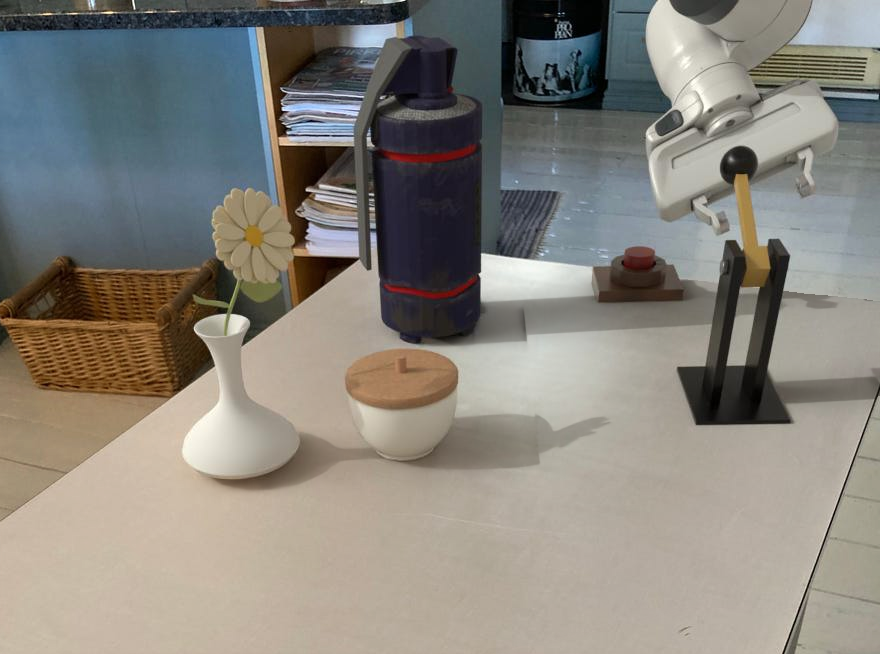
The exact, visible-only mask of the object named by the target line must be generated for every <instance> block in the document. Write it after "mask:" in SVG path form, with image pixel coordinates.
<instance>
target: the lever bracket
mask: <svg viewBox="0 0 880 654" xmlns="http://www.w3.org/2000/svg"><path fill="white" fill-rule="evenodd" d="M766 246H767V248H768V255H769V261H770V267H771V269H770V272H769V275H768V277H767V280H766V283H765V285H764V287H758V295H757V298H756V299H757V300H756V305H755V310H754V315H753V321H752V327H751V331H750V337H749V341H748V348H747V353H746V359H745V363H744V365H742V364H741V365H728V359H729V353H730V347H731V342H732V336H733V331H734V324H735V319H736V313H737V307H738V303H739V295H740V289H741V286H740V285H741V279H742V274H743V268H744V262H745V255H744V254H743V252H742V250H743V249H742V248H741V246H740V245H739V243H738V241H737V240H736V239H726V240H724V245H723V251H722V252H723V253H722V259H721V260H720V263H719V278H718V284H717V290H716V296H715V303H714V310H713V314H712V315H713V316H712V322H711V329H710V335H709V341H708V345H707V346H708V347H707V352H706V353H707V354H706V360H705V365H700V366H699V365H694V366H689V365H687V366H677V367H676V372H677V375H678V378H679V382H680V384H681V387H682V390H683V392H684V393H683V394H684V395H685V398H686V401H687V405H688V407H689V410H690V413H691V416H692V419H693V421H694V425H695V426H732V425H733V426H735V425H737V426H738V425H740V426H741V425H790V424H791V418H790V416H789V415H788V413H787V410H786V408H785V407H784V404H783V401H782V400H781V398H780V396H779V394H778V392H777V389H776V388H775V386H774V383H773V382H772V380H771V378H770V376H769V374H768V368H769V364H770V359H771V354H772V349H773V343H774V339H775V334H776V329H777V324H778V320H779V319H778V318H779V314H780V309H781V305H782V299H783V294H784V290H785V285H786V279H787V274H788V271H789V267H790V265H789V264H790V259H791V254H790V253H789V251H788V250H787V248H786V246H785V245H784V244H783V242H782V240H781V239H780V238H768V241H767V245H766Z"/></svg>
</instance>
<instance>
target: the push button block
mask: <svg viewBox="0 0 880 654" xmlns="http://www.w3.org/2000/svg"><path fill="white" fill-rule="evenodd" d="M623 264H624V254H621V255H617V256H615V257H614V258H613V259H612V260H611V261H610V265H600V266H599V265H598V266H597V265H596V266H595V265H594V266H592V274H591V275H592V276H591V287H592V291H593V295H594V299H595V301H597V303H598V304H601V303H603V304H604V303H644V302H645V303H646V302H648V303H650V302H682V301H683V298H684V291H685V289H684V286H683V284H682V282H681V279H680V277H679V275H678V272H677V270H676V267H675V264H671V263H670V264H667V262H666V260H665V259H664V258H662V257H660V256H658V255H656V254H655V258H654V267H653V268H649V269H640V270H636V269H630V268H627V267H625V266H623Z"/></svg>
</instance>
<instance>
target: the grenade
mask: <svg viewBox="0 0 880 654" xmlns="http://www.w3.org/2000/svg"><path fill="white" fill-rule="evenodd" d="M382 45H383V46H382V48H381V51H380V53H379V56H378V57H377V59H376V60H375V62H374V65H373V71H372V74H371V76H370V79H369V81H368V84H367V87H366V89H365V93H364V95H363V99H362V101H361V104H360V108H359V110H358V113H357V116H356V119H355V123H354V124H353V148H354V173H355V192H356V194H355V195H356V215H357V217H356V218H357V236H358V237H357V238H358V240H357V241H358V258H359V261H360V263H361V265H362V266H363V267H364V269H365V270H366V271H372V269H373V268H372V264H373V263H372V242H371V241H372V240H371V212H370V211H371V210H370V187H369V185H370V184H369V162H368V161H369V158H368V134H369V135H370V143H371V144H372V146H373V147H372V148H371V151H370V153H371V169H372V185H373V187H372V188H373V203H374V205H373V206H374V223H375V238H376V253H377V255H376V257H377V273H378V275H377V276H378V278H379V282H378V283H379V300H380V303H379V304H380V317H381V321H382V323H383V324H384V325H385V326H386V327H388V329H391V330H392V331H395V332H397V333H399V339H400V340H401V341H403V342H406V343H408V344H409V343H410V344H414V345H417V344H419V343H422V341H423V338H440V337H441V338H442V337H447V336H453V335H456V334H459V333H461V336H464V337H465V336H466V337H467V336H469V335H470V334H472V332H473V331H474V330H475V328H476V323H478V322H479V320H480V318H481V308H482V307H481V305H482V302H481V301H482V300H481V299H482V297H481V292H482V278H481V275H480V274H481V273H482V222H483V221H482V217H483V216H482V214H483V213H482V212H483V211H482V209H483V208H482V206H483V205H482V204H483V201H482V200H483V197H482V196H483V145H482V143H481V142H480V141H481V140H482V139H483V103H482V102H481V101H480V100H479V99H477V98H476V97H473V96H470V95H466V94H461V93H455V92H454V86H452V84H453V79H454V74H455V73H454V72H455V67H456V62H457V56H458V52H459V51H458V50H459V49H458V48H456V46H454V45H452V44H451V43H449V42H448V41H446V40H444V39H442V38H440V37H439V36H438V37H437V36H436V37H427V36H424V35H418V34H417V35H409V36H406V37H401V38H399V37H397V36H393V37H389V38H386V39H385V40H384V43H383V44H382ZM382 96H383V97H384V96H388V97H386V98H383V99H381V97H382ZM389 96H390V97H389Z"/></svg>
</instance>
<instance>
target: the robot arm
mask: <svg viewBox="0 0 880 654" xmlns="http://www.w3.org/2000/svg"><path fill="white" fill-rule="evenodd" d="M813 1H814V0H657V1H656V2H655V4H654V5H653V7H652V8H651V10H650V12H649V14H648V16H647V21H646V25H645V46H646V50H647V54H648V58H649V61H650V64H651V67H652V70H653V72H654V75H655V78H656V80H657V82H658V85H659V87H660V89H661V91H662V93H663V94H664V95H665V96H666V97H667V98H668V99H669V100H670V102H671V103H670V104H671V108H670V109H668V111H666V113H665V114H663V115H662V116H661V117H660V118H658V119H657V120H656V121H655V122H654V123H652V125H650V126H649V127H648V128H647V130H646V131H645V153H646V158H647V161H648V174H649V181H650V187H651V192H652V193H651V194H652V198H653V202H654V205H655V209H656V212H657V214H658V217H659V219H660V220H661V221H664V222H667V223H673V222H676V221H678V220H679V219H682V218H684V217H687V216H688V215H691V214H694V216H695V218H696V220H698V221H700V222H702V223H704V224H706V225H707V226H710V227H711V228H712V230H713V232H714V235H715V236H716V237H719V236H722V235H724V234H726V233H729V232H730V222H729V219H728V217H727V216H726V212H725V211H724V210H722V211H720V212H718V213H717V212H715V211H713V210H712V209H711V208H709V206H711V205H713V204H715V203H717V202H720V201H722V200H724V199H727V198H728V197H731V196H733V195H736V193H735V186H734V185H730V184H728V183H726V182H725V181H724V180H723V178H722V176H721V174H720V162H721V160H722V158H723V156H724V154H725V153H726V152H727V151H728V150H730V149H731V148H733V147H736V146H747V147H749V148H751V149H752V150H753V151H754V152H755V154H756V155H757V159H758V168H757V171H756V173H755V175H754V176H753V178H752V179H751V180H750V181H748V182H749V188H750V187H753V186H755V185H757V184H759V183H762V182H763V181H766V180H769V179H770V178H773V177H775V176H777V175H779V174H782V173H784V172H786V171H788V170H791V169H793V168H795V167H797V169H798V171H799V172H803V174H802V175H800V176H798V177H795V186H794V187H795V188H794V189H795V190H796V193H798V194H799V195H798V196H799V198H800V199H801V200H802V199H805V198H808V197H809V196H812V195H814V194H815V193H816V183H815V181H814V178H813V177H812V170H813V162H814V159H815V158H818V157H819V156H822V155H823V154H825V153H828V152H830V151H832V150H833V149H834V147H835V146H836V143H837V140H838V136H839V128H840V127H839V125H840V124H839V120H838V118H837V116H836V114H835V113H834V112H833V109H831V107H830V105H829V104H828V103H827V101H826V100H825V97H824V93H823V91H822V89H821V87H820V85H819V83H818V82H817V81H816V80H814V79H800V78H795V79H792V80H789V81H788V82H786V83H785V84H783V85H781V86H779V87H776V88H773V89H771V90H768V91H766V92H764V93H762V94H759V92H758V90H757V88H756V85H755V84H754V82H753V79H752V77H751V75H750V74H749V72H752V71H753V70H754V69H756V68H757V67H759V66H761V65H762V64H764V63H765V62H766V61H768V60H769V59H770V58H771V57H773V56H774V55H775V54H777V53H778V52H779V51H781V50H782V49H783V48H784V47H785V46H786V45H787V44H790V42H791V41H792V40H793V39H794V38H795V37H797V35H798V34H799V32H800V31H801V30H802V28H803V27H804V25H805V23H806V22H807V19H808V17H809V15H810V12H811V9H812V5H813Z"/></svg>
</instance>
